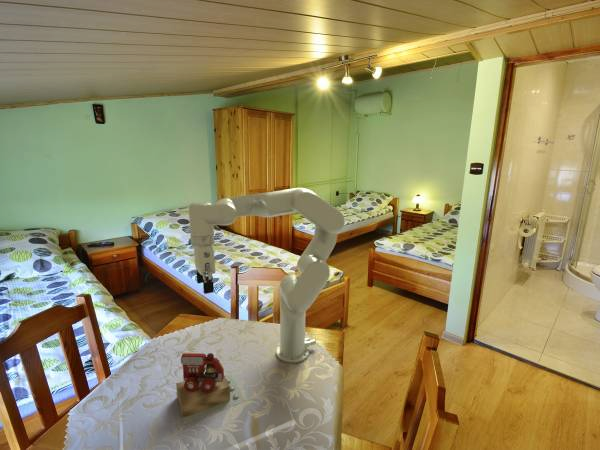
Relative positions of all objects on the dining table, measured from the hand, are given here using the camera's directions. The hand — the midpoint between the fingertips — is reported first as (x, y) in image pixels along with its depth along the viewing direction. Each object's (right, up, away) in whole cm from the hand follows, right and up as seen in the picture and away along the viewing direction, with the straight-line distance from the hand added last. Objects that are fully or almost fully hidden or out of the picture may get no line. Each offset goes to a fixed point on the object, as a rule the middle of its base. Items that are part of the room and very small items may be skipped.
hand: (205, 287), depth 110 cm
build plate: (+5, -33, -10) cm, 35 cm away
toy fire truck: (+3, -28, -12) cm, 30 cm away
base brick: (+3, -32, -11) cm, 34 cm away
